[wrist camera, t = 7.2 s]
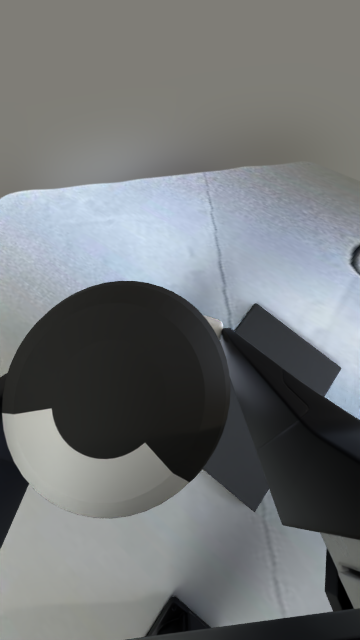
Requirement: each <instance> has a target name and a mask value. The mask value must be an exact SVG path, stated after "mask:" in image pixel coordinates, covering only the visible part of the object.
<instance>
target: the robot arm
mask: <svg viewBox="0 0 360 640" xmlns="http://www.w3.org/2000/svg"><path fill="white" fill-rule="evenodd" d="M220 342H221V345H222V347H223V350H224V353H225V356H226V359H227V364H228V368H229V375H230V378H231V381H232V384H233V387H234V389H235V392H236V395H237V398H238V401H239V404H240V406H241V409H242V412H243V415H244V418H245V421H246V423H247V426H248V429H249V432H250V435H251V438H252V440H253V443H254V446H255V449H256V452H257V455H258V458H259V461H260V463H261V466H262V469H263V472H264V475H265V478H266V480H267V483H268V486H269V489H270V492H271V495H272V497H273V500H274V503H275V506H276V509H277V512H278V514H279V517H280V520H281V522H282V525H284V526H289V527H295V528H300V529H305V530H310V531H315V532H320V534H321V536H322V538H323V540H324V542H325V544H326V547H327V553H326V576H325V592H326V595H327V597H328V600H329V602H330V605H331V607H332V610H333V612H327V613H319V614H312V615H305V616H297V617H290V618H282V619H275V620H268V621H260V622H253V623H245V624H238V625H231V626H223V627H216V628H210V627H209V626H208V625H207V624H206V623H205V622H204V621H203V620H201V619H200V618H199V617H198V616H197V615H196V614H195V613H194V612H193V611H191V610H190V609H189V608H188V607H187V606H186V605H185V604H184V603H182V602H181V601H180V600H179V599H178V598H177V597H175V596H173V597H171V599H170V600H169V602H168V603H167V605H166V607H165V608H164V610H163V611H162V613H161V614H160V616H159V618H158V619H157V621H156V622H155V624H154V626H153V627H152V629H151V630H150V632H149V634H148V635H147V637H142V638H134V639H127V640H360V420H359V419H357V418H355V417H354V416H352V415H351V414H349V413H348V412H346V411H345V410H343V409H342V408H340V407H338V406H337V405H335V404H334V403H332V402H331V401H329V400H328V399H326V398H325V397H323V396H322V395H320V394H319V393H317V392H316V391H314V390H313V389H311V388H310V387H309V386H307V385H306V384H304V383H303V382H301V381H300V380H299V379H297V378H296V377H294V376H293V375H292V374H290V373H289V372H288V371H286V370H285V369H283V368H282V367H281V366H280V365H278V364H277V363H276V362H274V361H273V360H272V359H270V358H269V357H268V356H266V355H265V354H264V353H262V352H261V351H260V350H258V349H257V348H256V347H255V346H253V345H252V344H251V343H249V342H248V341H247V340H245V339H244V338H243V337H241V336H240V335H239V334H237V333H236V332H235V331H233V330H232V329H231V328H223V329H222V333H221V337H220ZM7 374H8V373H7ZM7 374H5V375H3V376H2V377H0V548H1V546H2V544H3V542H4V540H5V538H6V535H7V533H8V531H9V528H10V526H11V524H12V521H13V519H14V517H15V515H16V512H17V510H18V508H19V505H20V503H21V501H22V499H23V496H24V494H25V492H26V489H27V487H28V485H29V483H28V482H27V480H26V479H25V478H24V477H23V475H22V474H21V472H20V471H19V469H18V467H17V466H16V464H15V462H14V460H13V458H12V455H11V453H10V451H9V448H8V445H7V441H6V437H5V433H4V428H3V418H2V402H3V392H4V386H5V381H6V377H7Z"/></svg>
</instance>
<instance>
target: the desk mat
mask: <svg viewBox="0 0 360 640" xmlns="http://www.w3.org/2000/svg"><path fill="white" fill-rule="evenodd" d="M235 332H236V333H237V334H239V335H240V336H241V337H243V338H244V339H245V340H247V341H248V342H249V343H251V344H252V345H253V346H255V347H256V348H257V349H258V350H260V351H261V352H262V353H264V354H265V355H266V356H268V357H269V358H270V359H272V360H273V361H274V362H276V363H277V364H278V365H280V366H281V367H282V368H283V369H285V370H286V371H288V372H289V373H290V374H292V375H293V376H294V377H296V378H297V379H299V380H300V381H301V382H303V383H304V384H306V385H307V386H309V387H310V388H311V389H313V390H314V391H316V392H317V393H319V394H320V395H322V396H323V397H324V396H325V395H326V393H327V391H328V390H329V388H330V386H331V385H332V383H333V381H334V380H335V378H336V376H337V375H338V373H339V371H340V370H341V368H340V367H339V366H338V365H337V364H335V363H334V362H333V361H331V360H330V359H329V358H327V357H326V356H325V355H323V354H322V353H321V352H319V351H318V350H317V349H316V348H314V347H313V346H312V345H310V344H309V343H308V342H306V341H305V340H304V339H302V338H301V337H300V336H298V335H297V334H296V333H295V332H293V331H292V330H291V329H289V328H288V327H287V326H285V325H284V324H283V323H281V322H280V321H279V320H278V319H276V318H275V317H274V316H272V315H271V314H270V313H268V312H267V311H266V310H264V309H263V308H262V307H260V306H259V305H258V304H254V305H253V307H252V308H251V309H250V311H249V312H248V313H247V315H246V316H245V318H244V319H243V320H242V322H241V323H240V324H239V326H238V327H237V328H236V330H235ZM230 386H231V389H230V405H229V411H228V416H227V421H226V424H225V427H224V430H223V434H222V436H221V438H220V440H219V443H218V445H217V447H216V449H215V451H214V453H213V454H212V456H211V457H210V459H209V460H208V462H207V463H206V465H205V466H204V467H203V469H204V470H205V471H206V472H207V473H208V474H210V475H211V476H212V477H213V478H214V479H216V480H217V481H218V482H219V483H220V484H222V485H223V486H224V487H225V488H226V489H228V490H229V491H230V492H231V493H232V494H233V495H235V496H236V497H237V498H238V499H239V500H241V501H242V502H243V503H244V504H245V505H247V506H248V507H249V508H250V509H251V510H253V511H254V512H255V511H256V509H257V508H258V506H259V504H260V503H261V501H262V500H263V498H264V496H265V495H266V493H267V491H268V490H269V486H268V483H267V480H266V478H265V475H264V472H263V469H262V466H261V463H260V461H259V458H258V455H257V452H256V449H255V446H254V443H253V440H252V438H251V435H250V432H249V429H248V426H247V423H246V421H245V418H244V415H243V412H242V409H241V406H240V404H239V401H238V398H237V395H236V392H235V389H234V387H233V384H232V381H231V378H230Z"/></svg>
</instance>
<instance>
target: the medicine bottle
mask: <svg viewBox="0 0 360 640" xmlns="http://www.w3.org/2000/svg"><path fill="white" fill-rule="evenodd" d="M222 329H223V323H222V322H221V321H220V320H217V319H214V318H211V317H208V316H205V315H202V314H201V313H200V312H199V311H198V310H197V309H196V308H195V307H194V306H193V305H192V304H190V303H189V302H188V301H187V300H185V299H184V298H182V297H181V296H179V295H177V294H176V293H174V292H172V291H170V290H167V289H165V288H163V287H160V286H156V285H153V284H149V283H144V282H137V281H115V282H108V283H103V284H99V285H95V286H91V287H89V288H86V289H84V290H81V291H79V292H77V293H75V294H73V295H71V296H69V297H68V298H66V299H64V300H63V301H61V302H60V303H59V304H57V305H56V306H55V307H53V308H52V309H51V310H50V311H49V312H48V313H47V314H45V315H44V316H43V317H42V318H41V319H40V320H39V321H38V322H37V323H36V324H35V325H34V327H33V328H32V329H31V330H30V332H29V333H28V334H27V335H26V337H25V338H24V340H23V341H22V343H21V345H20V346H19V348H18V350H17V352H16V354H15V356H14V358H13V360H12V362H11V365H10V368H9V371H8V374H7V377H6V381H5V386H4V392H3V402H2V418H3V428H4V433H5V437H6V441H7V445H8V448H9V451H10V453H11V455H12V458H13V460H14V462H15V464H16V466H17V467H18V469H19V471H20V472H21V474H22V475H23V477H24V478H25V479H26V480H27V482H28V483H29V484H30V485H31V486H32V487H33V489H34V490H36V491H37V492H38V493H39V494H40V495H42V496H43V497H44V498H45V499H46V500H48V501H50V502H51V503H53V504H55V505H56V506H58V507H60V508H62V509H64V510H67V511H69V512H72V513H75V514H77V515H82V516H87V517H92V518H118V517H126V516H131V515H134V514H138V513H141V512H144V511H147V510H149V509H151V508H153V507H155V506H158V505H160V504H162V503H163V502H165V501H166V500H168V499H169V498H171V497H172V496H174V495H175V494H177V493H178V492H179V491H180V490H182V489H183V488H184V487H185V486H186V485H187V484H188V483H189V482H191V481H192V480H193V479H194V478H195V477H196V476H197V474H198V473H199V472H200V471H201V470H202V469H203V467H204V466H205V465H206V463H207V462H208V460H209V459H210V457H211V456H212V454H213V453H214V451H215V449H216V447H217V445H218V443H219V440H220V438H221V436H222V434H223V430H224V427H225V424H226V421H227V416H228V411H229V405H230V389H231V386H230V375H229V368H228V364H227V359H226V356H225V353H224V350H223V347H222V345H221V342H220V336H221V333H222Z"/></svg>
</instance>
